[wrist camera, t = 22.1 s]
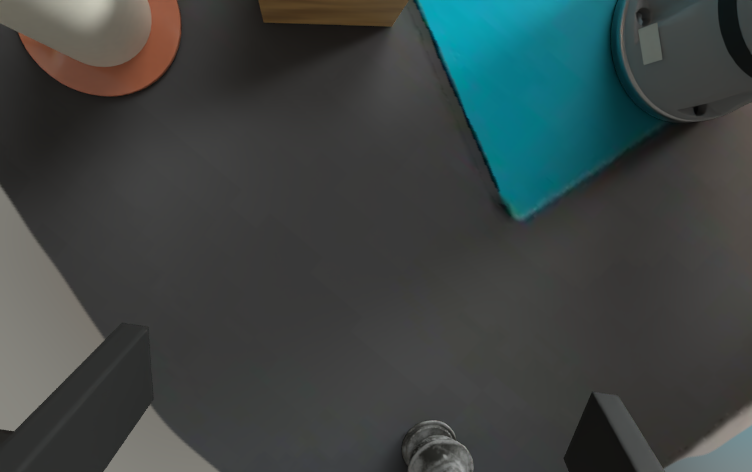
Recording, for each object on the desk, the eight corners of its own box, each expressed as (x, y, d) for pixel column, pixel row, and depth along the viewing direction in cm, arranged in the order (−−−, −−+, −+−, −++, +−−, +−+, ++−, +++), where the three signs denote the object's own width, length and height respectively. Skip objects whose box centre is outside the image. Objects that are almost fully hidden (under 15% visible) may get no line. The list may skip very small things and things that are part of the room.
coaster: (99, -100, 31) (96, -103, 31) (214, 31, 34) (213, 29, 33) (-22, 3, 31) (-26, 1, 31) (103, 128, 34) (100, 127, 33)
